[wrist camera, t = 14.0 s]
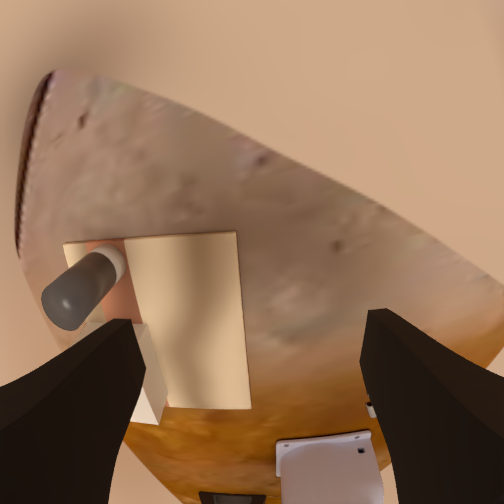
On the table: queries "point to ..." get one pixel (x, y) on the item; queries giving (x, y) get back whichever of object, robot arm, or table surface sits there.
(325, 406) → the table surface
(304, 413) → the table surface
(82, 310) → the grey capped cylinder
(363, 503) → the robot arm
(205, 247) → the panel
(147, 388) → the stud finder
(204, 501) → the phone stand
